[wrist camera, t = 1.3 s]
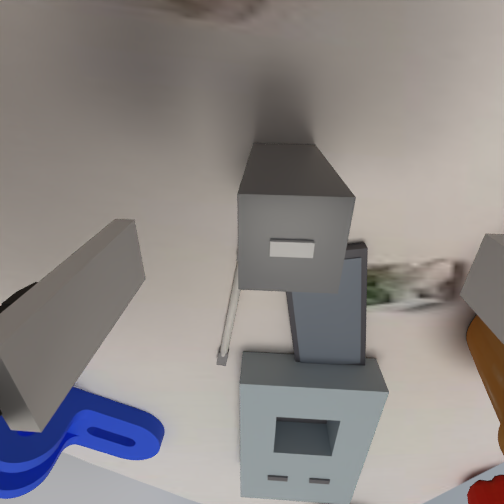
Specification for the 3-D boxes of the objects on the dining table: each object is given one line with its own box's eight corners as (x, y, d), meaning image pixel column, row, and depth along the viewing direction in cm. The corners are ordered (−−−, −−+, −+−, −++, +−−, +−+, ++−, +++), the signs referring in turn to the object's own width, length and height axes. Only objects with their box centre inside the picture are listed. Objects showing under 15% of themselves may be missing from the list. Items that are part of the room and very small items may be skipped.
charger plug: (252, 201, 24) (237, 292, 14) (253, 143, 22) (236, 195, 11) (308, 203, 24) (338, 296, 13) (315, 144, 22) (356, 199, 11)
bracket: (24, 409, 40) (-37, 488, 32) (31, 371, 36) (-35, 450, 28) (154, 450, 43) (127, 532, 35) (173, 419, 39) (148, 503, 31)
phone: (296, 364, 33) (296, 372, 32) (281, 252, 26) (281, 258, 25) (362, 359, 32) (365, 368, 31) (364, 242, 25) (367, 248, 25)
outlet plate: (243, 463, 43) (240, 498, 39) (243, 351, 32) (239, 385, 29) (342, 470, 42) (349, 506, 39) (375, 358, 32) (389, 394, 28)
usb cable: (226, 360, 33) (225, 366, 32) (217, 358, 33) (216, 364, 32) (252, 240, 26) (251, 244, 25) (240, 238, 26) (239, 242, 25)
